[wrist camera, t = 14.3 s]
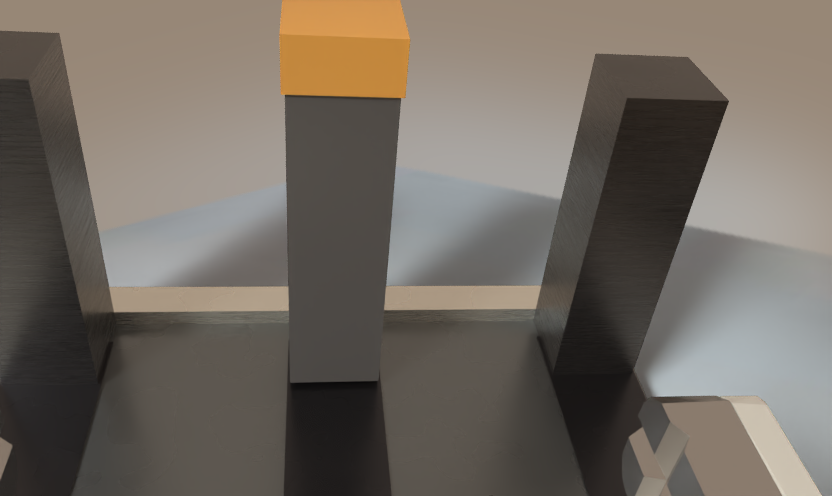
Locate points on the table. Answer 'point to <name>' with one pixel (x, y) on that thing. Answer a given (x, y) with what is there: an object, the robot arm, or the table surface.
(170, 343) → the grey peg stand
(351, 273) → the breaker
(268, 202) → the table surface
